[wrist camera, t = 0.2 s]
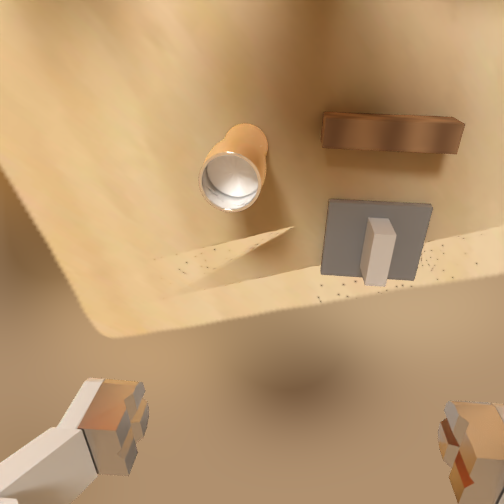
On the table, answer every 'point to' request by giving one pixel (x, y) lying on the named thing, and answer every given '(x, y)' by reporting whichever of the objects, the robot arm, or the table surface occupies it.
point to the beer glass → (235, 169)
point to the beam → (391, 132)
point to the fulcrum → (374, 239)
